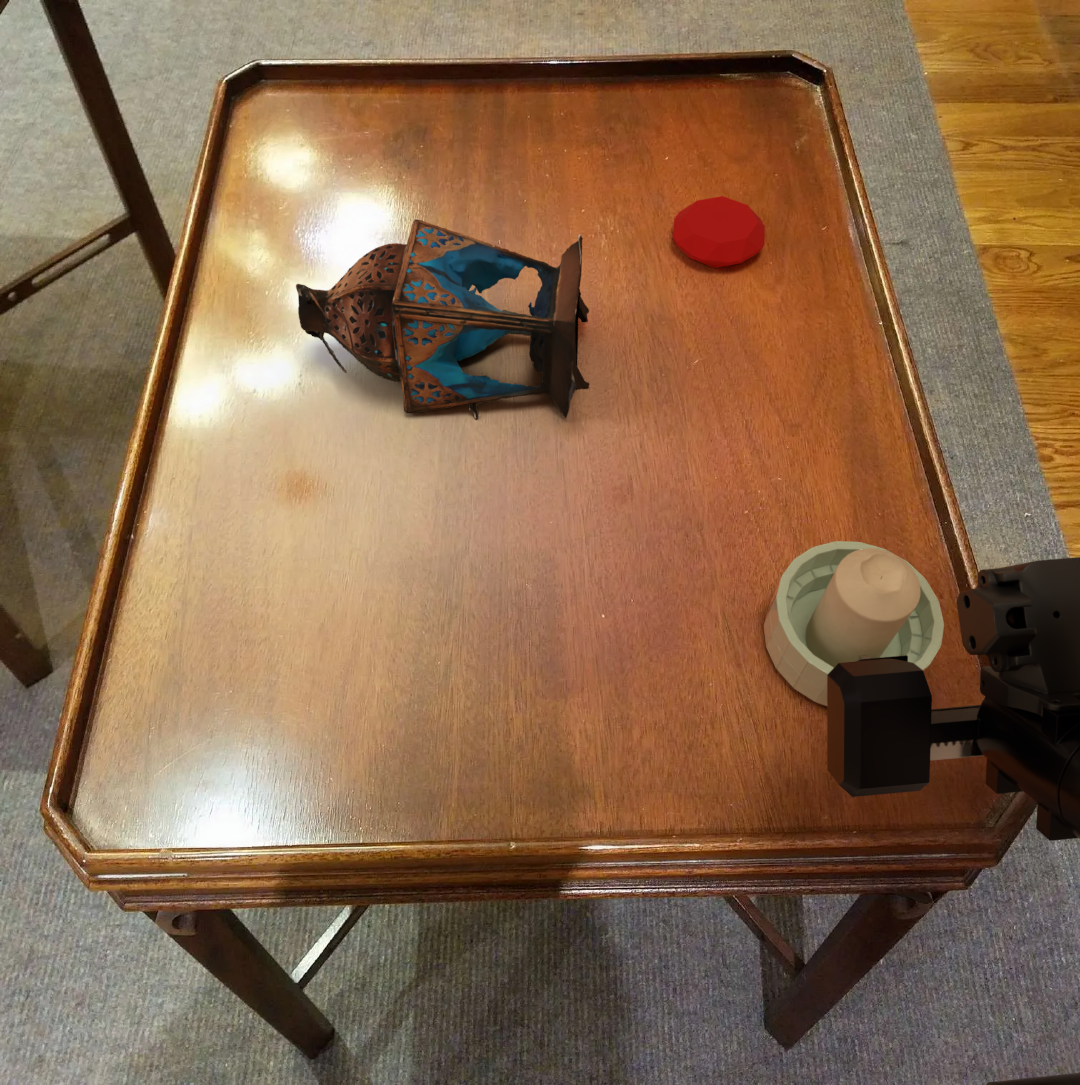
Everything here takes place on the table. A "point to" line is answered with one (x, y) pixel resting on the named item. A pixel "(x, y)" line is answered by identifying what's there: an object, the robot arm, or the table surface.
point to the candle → (862, 607)
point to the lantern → (449, 318)
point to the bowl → (800, 601)
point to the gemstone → (718, 232)
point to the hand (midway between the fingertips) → (939, 656)
